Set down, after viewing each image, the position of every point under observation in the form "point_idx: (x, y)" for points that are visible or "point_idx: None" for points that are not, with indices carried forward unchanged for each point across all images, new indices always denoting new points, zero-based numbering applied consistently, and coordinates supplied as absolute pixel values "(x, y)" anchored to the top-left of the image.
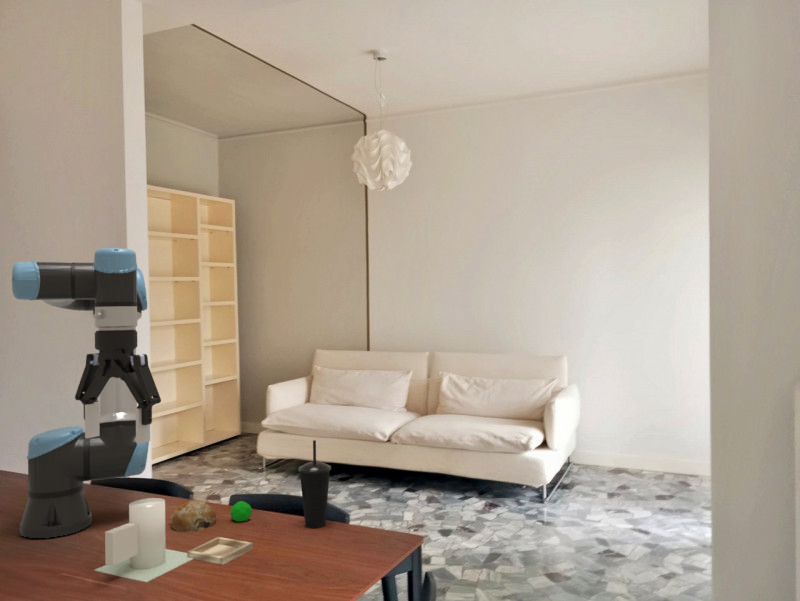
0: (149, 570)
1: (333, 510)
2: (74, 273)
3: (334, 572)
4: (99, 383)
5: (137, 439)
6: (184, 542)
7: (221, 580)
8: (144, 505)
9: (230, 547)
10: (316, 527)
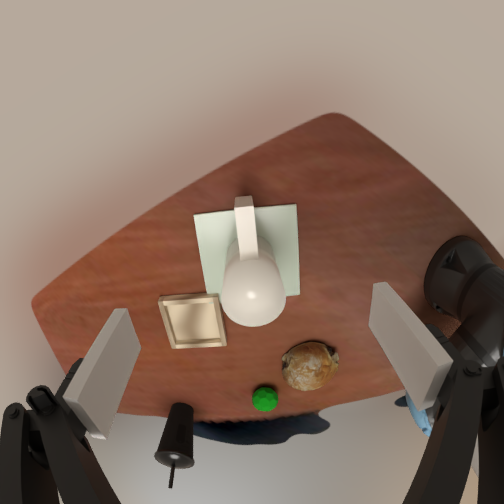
0: (223, 240)
1: (201, 435)
2: None
3: (69, 330)
4: (415, 498)
5: (115, 315)
6: (273, 326)
7: (130, 269)
8: (244, 288)
9: (198, 336)
10: (173, 404)
